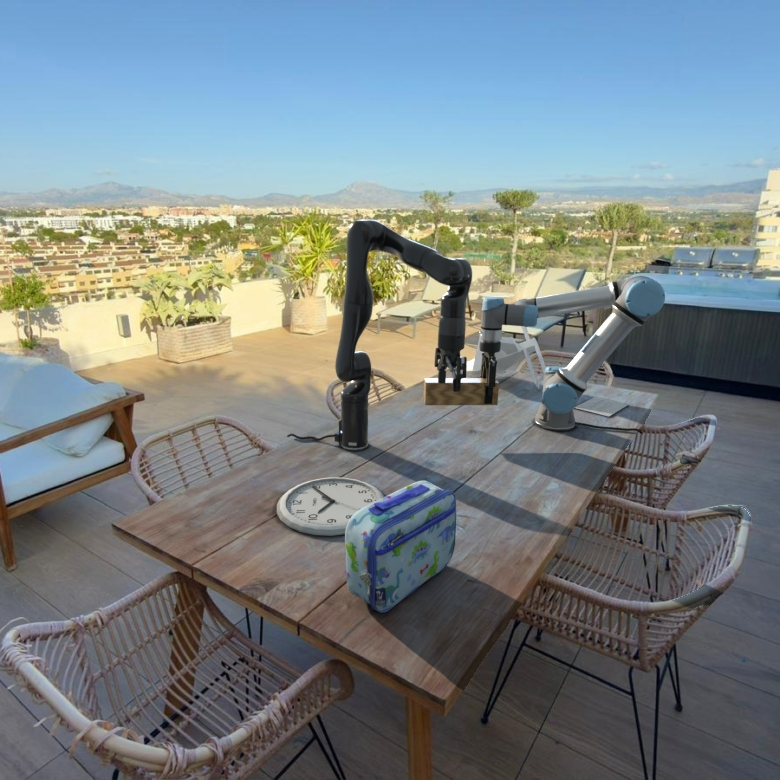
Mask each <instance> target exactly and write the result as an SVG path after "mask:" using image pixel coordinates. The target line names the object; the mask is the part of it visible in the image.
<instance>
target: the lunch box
mask: <svg viewBox="0 0 780 780" xmlns="http://www.w3.org/2000/svg"><path fill="white" fill-rule="evenodd" d="M456 531H457V499H456V495H455V493H454V492H453V490H450V489H442V488H440V487H439V486H437V485H435V484H433V483H432V482H430V481H428V480H418V481H416V482H413V483H410V484H409V485H406V486H405V487H402V488H400V489H398V490H396V491H394V492H392V493H390V494H388V495H385V497H384V498H382V499H380V500H378V501H376V502H374V503H372V504H370V505H368V506H366V507H364V508H362V509H360V510H358V511H357V512H355V513H354V514H353V515H352V517H351V518H350V520H349V522H348V524H347V527H346V531H345V534H344V552H345V577H346V578H345V580H346V586H347V589H348V592H349V593H350V594H352V595H354V596H356V597H357V598H359V599H361V600H363V602H365V603H367V604H368V605H370V607H371V608H372V609H373V610H375V611H376V612H378V613H380V614H382V613H383V614H385V613H387V612H389V611H391V609H393V608H394V607H395V606H396V605H397V604H400V602H401V601H402V600H404V599H406V597H409V596H410V595H411V594H412V593H414V592H415V591H416V590H417V589H418V588H420V587H421V586H422V585H423V584H424V583H425V582H427V581H428V580H430V579H432V578H433V577H434V576H436V575H437V574H439V573H441V572H442V571H443V570H445V568H446V567H447V566H448V564H449V563H450V561H451V560H452V557H453V554H454V551H455V548H456V547H455V546H456Z"/></svg>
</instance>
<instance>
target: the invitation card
mask: <svg viewBox="0 0 780 780" xmlns="http://www.w3.org/2000/svg"><path fill="white" fill-rule="evenodd" d="M628 406H629V404H627V403H623V402H618V401H614V400H609V399H605V398H601V397H596V396H593V397H592V398H590V399H588V400H586V401H584V402H582V403H580V404H578V405H576V406H575V407H574V409H575V410H581V411H584V412H587V413H593V414H596V415H600V416H604V417H608V418H609V417H611V416H613V415H614V414H616V413H617V412H619V411H621V410H623V409H624V408H626V407H628Z"/></svg>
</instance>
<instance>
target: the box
mask: <svg viewBox="0 0 780 780" xmlns="http://www.w3.org/2000/svg"><path fill="white" fill-rule="evenodd" d="M453 379H454V378H453V377H448V378H447V377H446V382H445V383H441V384H440V383H438V377H424V378H423V403H424V406H498V403H499V391H500V382H499V380H498V379H496V382H495V387H494V388H493V399H492V404H485V389H486V388H485V386H486V385H487V378H481V377H466V378H462V379H461V386H460V387H461V388H460V391H458V392H454V391H452V386H453Z"/></svg>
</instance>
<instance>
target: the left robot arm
mask: <svg viewBox="0 0 780 780" xmlns="http://www.w3.org/2000/svg"><path fill="white" fill-rule="evenodd" d="M372 252H382V253H387V254H390V255H393V256H394V257H396V258H398V260H400V261H401V263H403V264H404V265H406V266H408V267H409V268H411V269H413V270H415V271H417V272H421V273H423V274H425V275H427V276H429V277H430V278H431V279H433V280H434V281H435V282H437V283H439V284H441V285H444V286H447V291H446V292H445V293H444V294H443V295H442V296H441V298H440V304H439V305H440V306H439V307H440V308H439V310H440V311H439V319H438V329H437V330H438V331H437V347H435V350H434V352H435V353H434V368H436V369H437V371H438V372H437V373H438V374H437V378H438V383H440V384H441V383H445V382H446V378H447V369H448V370H449V372H450V373H451V374H452V378H454V379H453V386H452V391H454V392H458V391H460V388H461V387H460V386H461V379H462V378H467V369H466V368H467V362H468V358H467V356H461V351H462V350H464V349H465V344H466V343H465V342H466V327H467V324H466V314H467V313H466V311H467V299H468V296H469V292H470V288H471V286H472V281H473V268H472V265H471V263H470V261H468V260H467V259H466V258H448V257H445V256H443V255H442V253H440V252H439V251H438V250H437V249H434V248H431V247H429V246H426V245H424V244H421V243H419V242H417V241H415V240H411V239H409V238H407V237H405V236H403V235H401V234H399V233H398V232H396V231H394V230H393V229H392V228H390V227H388V226H386V225H385V224H383V223H382V222H380V221H378V220H375V219H358V220H357V219H356V220H354V221H353V222H351V224H350V225H349V226H348V229H347V234H346V274H345V286H344V287H345V288H344V297H343V304H342V319H341V328H340V336H339V340H338V345H337V346H338V347H337V351H336V352H337V353H336V356H335V363H334V364H335V365H334V369H335V374H336V377H337V378H338V380H339V381H341V382H343V383H348V382H349V383H348V384H347V385H346V386H345V387H344V388H343V389H342V390H341V391H340V419H338V431H336V432H335V433H333V434H327V435H323V436H321V437H316V436H313V435H312V436H311V435H309V436H299V435H298V434H297V435H296V434H295V433H289V434H287V436H286V438H290V437H294V438H296V439H298V440H310V439H311V440H314V441H322V440H324V439H328V438H334V442H336V443H338V446H339V447H341V448H342V449H344V450H346V451H352V452H354V451H355V452H357V451H363V450H365V449H367V448H368V447H369V395H370V392H371V382H372V380H371V379H372V362H371V358H370V356H369V354H367V352H365V351H362V350H358V351H357V350H356V349H357V345H358V342H359V340H360V338H361V336H362V334H363V333H364V331H365V330H366V328H367V326H368V325H369V323H370V321H371V319H372V316H373V310H374V308H373V307H374V300H375V299H374V298H375V297H374V291H373V286H372V284H371V281H370V279H369V275H368V258H369V253H372Z"/></svg>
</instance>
